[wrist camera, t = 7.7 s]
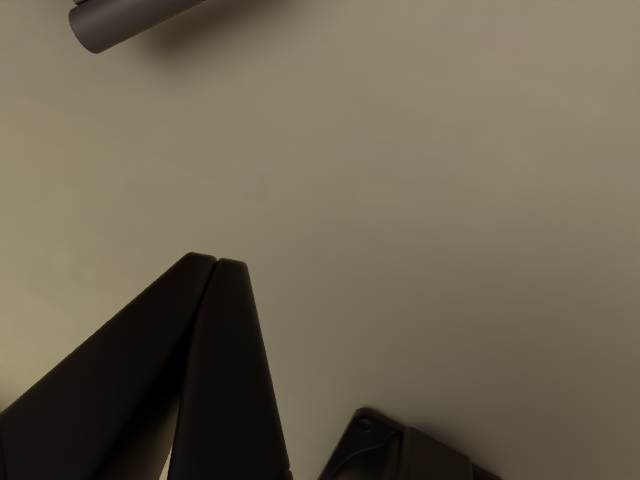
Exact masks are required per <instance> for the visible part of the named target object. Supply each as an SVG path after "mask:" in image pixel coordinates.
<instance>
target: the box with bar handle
mask: <svg viewBox="0 0 640 480" xmlns="http://www.w3.org/2000/svg"><path fill="white" fill-rule="evenodd" d="M203 1H205V0H74V2H75V4H76V5H78V6H77V7H75V8H73V9H71V10H70V12H69V22H70V26H71V28H72V30H73V32H74V34H75V36H76V37H77V39H78V40H79V42H80V43H81V44H82V45H83V46H84V47H85V48H86V49H87V50H88V51H90V52H92V53H95V54H98V53H100V52H102V51H104V50H106V49H108V48H110V47H112V46H114V45H117V44H119V43H121V42H123V41H125V40H127V39H129V38H131V37H133V36H135V35H137V34H139V33H141V32H143V31H145V30H147V29H149V28H151V27H153V26H155V25H157V24H159V23H161V22H163V21H165V20H167V19H169V18H171V17H173V16H175V15H177V14H179V13H181V12H183V11H185V10H187V9H189V8H191V7H193V6H195V5H197V4H199V3H201V2H203Z"/></svg>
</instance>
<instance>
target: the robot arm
mask: <svg viewBox="0 0 640 480" xmlns="http://www.w3.org/2000/svg"><path fill="white" fill-rule="evenodd" d="M360 419H367V420H368V421H369V422H370V424H369V425H362V424H361V423H360V421H359V420H360ZM172 445H173V446H172ZM171 447H172V452H171V458H170V464H169V470H168V476H167V480H293V476H292V472H291V471H290V470H289V467H290V464H289V459H288V454H287V450H286V445H285V440H284V436H283V431H282V426H281V421H280V417H279V412H278V407H277V403H276V398H275V393H274V389H273V384H272V379H271V375H270V370H269V365H268V361H267V356H266V351H265V347H264V342H263V337H262V332H261V328H260V323H259V318H258V314H257V309H256V304H255V300H254V295H253V290H252V286H251V281H250V276H249V272H248V267H247V265H246V263H245V262H242V261H237V260H232V259H226V258H220V259H219V260H218V261H217V259H216V258H215V257H214V256H211V255H205V254H200V253H195V252H190V253H187V254H186V255H184V256H183V257H182V258H181V259H180V260H179V261H177V262H176V263H175V264H174V265H173V266H172V267H170V268H169V269H168V270H167V271H166V272H165V273H163V274H162V275H161V276H160V277H159V278H158V279H157V280H155V281H154V282H153V283H152V284H151V285H150V286H148V287H147V288H146V289H145V290H144V291H143V292H141V293H140V294H139V295H138V296H137V297H136V298H134V299H133V300H132V301H131V302H130V303H129V304H127V305H126V306H125V307H124V308H123V309H122V310H120V311H119V312H118V313H117V314H116V315H115V316H114V317H112V318H111V319H110V320H109V321H108V322H107V323H105V324H104V325H103V326H102V327H101V328H100V329H98V330H97V331H96V332H95V333H94V334H93V335H91V336H90V337H89V338H88V339H87V340H86V341H84V342H83V343H82V344H81V345H80V346H79V347H77V348H76V349H75V350H74V351H73V352H72V353H70V354H69V355H68V356H67V357H66V358H65V359H63V360H62V361H61V362H60V363H59V364H58V365H57V366H55V367H54V368H53V369H52V370H51V371H50V372H48V373H47V374H46V375H45V376H44V377H43V378H41V379H40V380H39V381H38V382H37V383H36V384H34V385H33V386H32V387H31V388H30V389H29V390H27V391H26V392H25V393H24V394H23V395H22V396H20V397H19V398H18V399H17V400H16V401H15V402H13V403H12V404H11V405H10V406H9V407H8V408H7V409H5V410H4V411H3V412H2V413H1V414H0V480H159V478H160V475H161V473H162V470H163V468H164V465H165V463H166V460H167V457H168V455H169V452H170V450H171ZM317 480H502V479H500V478H499V477H497V476H495V475H494V474H492V473H490V472H488V471H486V470H484V469H482V468H480V467H478V466H477V465H475V464H473V463H471V462H470V459H469V457H467V456H466V455H464V454H462V453H460V452H458V451H456V450H454V449H452V448H451V447H449V446H447V445H445V444H443V443H441V442H439V441H437V440H435V439H434V438H432V437H430V436H428V435H426V434H424V433H422V432H420V431H418V430H417V429H415V428H405V427H403V426H401V425H399V424H397V423H395V422H394V421H392V420H390V419H388V418H386V417H384V416H382V415H380V414H379V413H377V412H375V411H373V410H371V409H368V408H360V409H358V410H357V411H356V412H355V413H354V414H353V416H352V418H351V420H350V422H349V423H348V425H347V427H346V429H345V431H344V432H343V434H342V436H341V438H340V440H339V441H338V443H337V445H336V447H335V449H334V450H333V452H332V454H331V456H330V458H329V460H328V461H327V463H326V465H325V467H324V469H323V470H322V472H321V474H320V476H319V478H318V479H317Z"/></svg>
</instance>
